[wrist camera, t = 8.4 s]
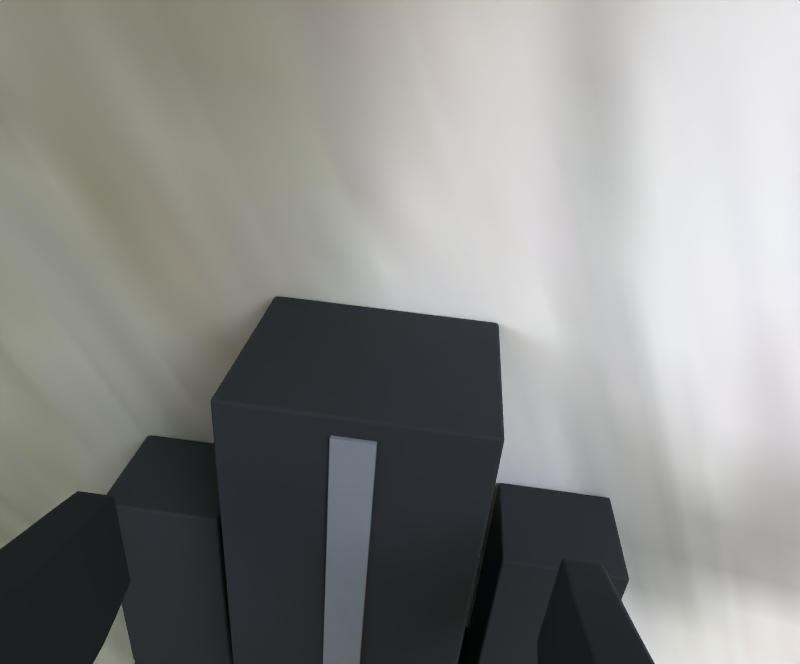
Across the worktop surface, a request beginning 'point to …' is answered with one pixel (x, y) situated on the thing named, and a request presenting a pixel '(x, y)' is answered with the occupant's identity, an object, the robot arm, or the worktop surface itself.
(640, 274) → the worktop surface
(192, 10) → the worktop surface
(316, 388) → the pad
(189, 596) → the notch pad
